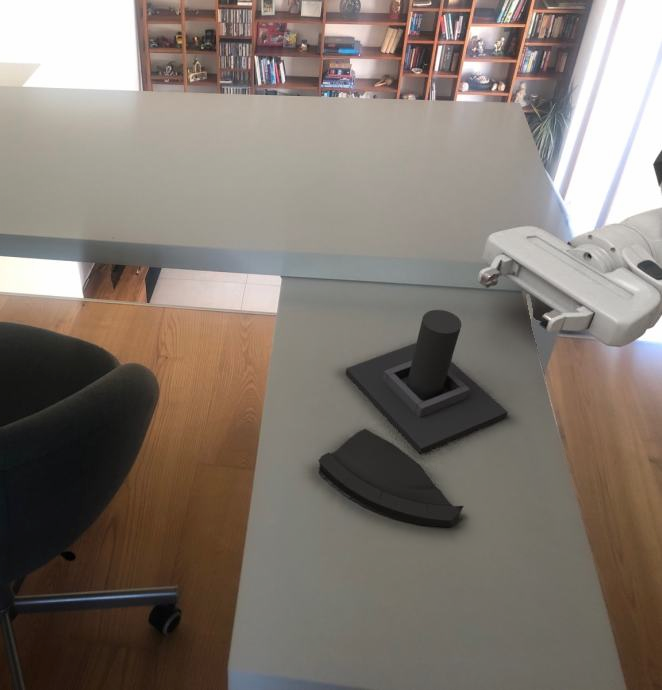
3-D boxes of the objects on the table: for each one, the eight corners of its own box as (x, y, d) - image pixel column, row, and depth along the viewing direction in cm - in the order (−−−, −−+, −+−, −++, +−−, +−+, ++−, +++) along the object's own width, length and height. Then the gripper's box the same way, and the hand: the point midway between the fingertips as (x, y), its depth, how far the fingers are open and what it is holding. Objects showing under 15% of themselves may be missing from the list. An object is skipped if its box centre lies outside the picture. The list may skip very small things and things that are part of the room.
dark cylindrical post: (449, 391, 80) (469, 324, 73) (424, 405, 78) (442, 338, 72) (423, 371, 82) (441, 305, 76) (399, 384, 81) (414, 317, 74)
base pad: (505, 417, 78) (511, 402, 76) (419, 454, 74) (424, 439, 72) (424, 344, 87) (428, 329, 86) (345, 374, 84) (347, 358, 82)
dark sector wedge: (421, 557, 65) (424, 547, 64) (313, 471, 73) (314, 461, 72) (472, 507, 69) (476, 498, 68) (364, 431, 77) (366, 421, 76)
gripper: (539, 205, 87) (454, 233, 83) (690, 289, 73) (597, 329, 69) (526, 247, 91) (444, 277, 87) (666, 335, 77) (576, 375, 73)
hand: (512, 301), depth 78 cm, fingers open, 8 cm apart
